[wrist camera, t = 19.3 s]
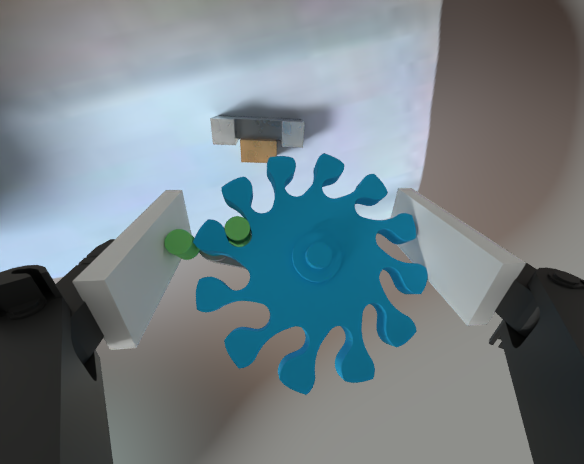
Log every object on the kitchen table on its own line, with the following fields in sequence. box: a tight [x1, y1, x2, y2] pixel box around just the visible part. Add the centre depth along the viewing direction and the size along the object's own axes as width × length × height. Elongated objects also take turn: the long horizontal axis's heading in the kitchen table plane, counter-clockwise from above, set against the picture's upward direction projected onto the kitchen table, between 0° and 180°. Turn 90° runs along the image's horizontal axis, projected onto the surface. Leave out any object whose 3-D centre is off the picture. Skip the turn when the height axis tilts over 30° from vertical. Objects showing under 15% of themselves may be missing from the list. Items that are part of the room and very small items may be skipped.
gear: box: [164, 153, 428, 395], centre depth 12 cm, size 11×6×10 cm
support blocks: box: [210, 116, 305, 163], centre depth 24 cm, size 10×21×4 cm, turn 177°
